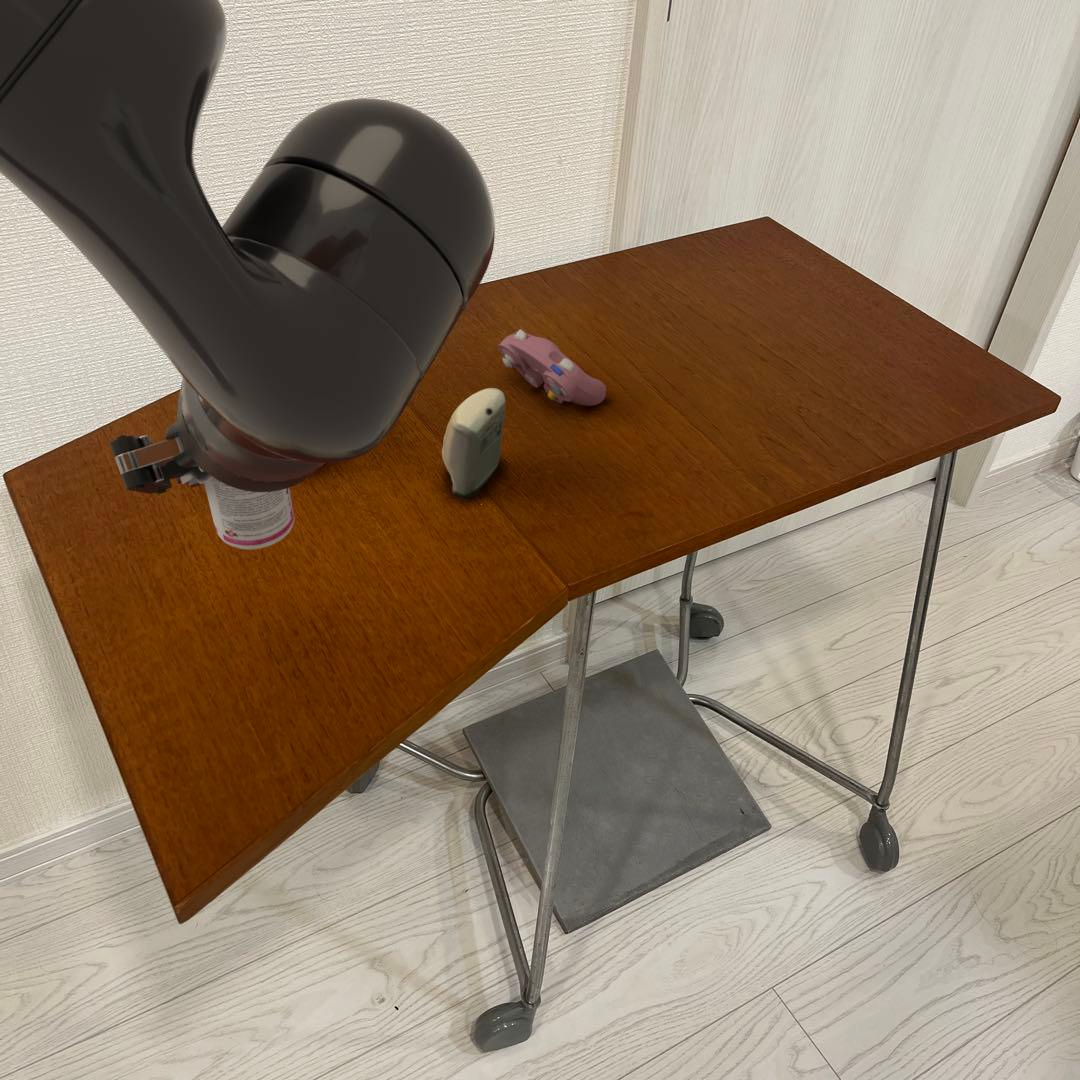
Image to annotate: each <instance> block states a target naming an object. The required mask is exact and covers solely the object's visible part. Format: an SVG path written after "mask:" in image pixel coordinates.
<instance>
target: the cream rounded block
mask: <svg viewBox="0 0 1080 1080" xmlns="http://www.w3.org/2000/svg"><path fill="white" fill-rule="evenodd" d="M506 406H507V401H506V396H505V393H504V391H502V390H501V389H500V388H499V389H498V388H496V387H488V388H483V389H481V390H479V391H476V392H475V393H473V394H471V395H470V396H469V397H467V398H466V399H465V400H463V401H462V402H461V403H460V404H459V405H458V406H457V407H456V409H454V412H453V413H452V415H451V417H450V419H449V421H448V423H447V426H446V430H445V433H444V435H443V442H442V443H443V444H442V449H441V457H442V461H443V464H444V466H445V468H446V470H447V472H448V473H449V475H450V480H451V482H452V488H451V489H452V493H453V495H456V496H457V497H458V498H462V499H465V500H467V499H471V498H473V497H475V496H478V493H479V492H481V489H482V488H483V487H484V486H485V485H486V484H487V483H488V481H489V480H490V479H491V478H492V477H493V476H494V474H495V473H496V472H497V470H498V468H499V463H500V460H501V450H502V449H501V448H502V439H503V433H504V425H505V424H504V423H505V414H506Z"/></svg>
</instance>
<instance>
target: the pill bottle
mask: <svg viewBox="0 0 1080 1080" xmlns="http://www.w3.org/2000/svg"><path fill="white" fill-rule="evenodd" d="M203 485H204V489H205V492H206V493H205V494H206V497H207V500H208V504H209V509H210V513H211V517H212V521H213V524H214V525H213V526H214V528H215V531H216V533H217V536H218V537H219V538H220V540H221V541H222V542H223V543H225V544H227V545H228V546H231V547H233V548H236V549H240V550H258V549H259V550H260V549H264V548H267V547H270V546H272V545H274V544H276V543H279V542H280V541H281V540H283V539H284V538H285V537H287V536H288V535H289V533H290V532H291V530H292V529H293V526H294V525H295V510H294V505H293V501H292V495H291V491H290V490H291V489H290V487H289V488H286V489H283V490H279V491H274V492H250V491H244V490H240V489H237V488H234V487H231V486H228V485H226V484H224V483H222V482H220V481H219V480H215V481H211V482H207V483H204V484H203Z"/></svg>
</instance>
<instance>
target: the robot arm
mask: <svg viewBox="0 0 1080 1080" xmlns="http://www.w3.org/2000/svg"><path fill="white" fill-rule="evenodd" d="M227 38H228V25H227V18H226V14H225V11H224V9H223V6H222V4H221V2H220V0H0V174H1V175H2V176H3V177H4V178H6V179H7V180H8V181H9V182H10V183H11V184H13V185H14V186H15V187H16V188H17V189H18V190H19V191H20V192H21V193H22V194H23V195H24V196H25V197H26V198H28V199H29V200H30V201H31V202H32V203H33V204H34V205H35V206H36V207H37V208H38V209H39V210H40V211H41V212H42V213H43V214H44V215H45V216H46V217H47V218H48V220H50V221H51V222H52V223H53V224H54V225H55V226H56V228H58V229H59V231H61V233H62V234H63V235H64V236H65V237H66V238H67V239H68V240H69V241H70V242H71V243H72V244H73V245H74V247H76V248H77V250H78V251H79V252H80V253H81V254H82V256H84V258H85V259H86V260H87V261H88V262H89V263H90V264H91V266H93V268H94V269H95V270H96V271H97V272H98V273H99V274H100V275H101V277H102V278H103V279H104V280H105V281H106V283H108V284H109V286H110V287H111V288H112V290H114V292H115V293H116V294H117V295H118V296H119V298H120V299H121V300H122V302H123V303H124V304H125V305H126V306H127V307H128V309H129V310H130V311H131V312H132V314H133V315H134V316H135V317H136V319H137V321H139V323H140V325H142V327H143V328H144V330H146V332H147V333H148V334H149V336H150V338H152V340H153V341H154V342H155V343H156V345H157V346H158V348H159V349H160V350H161V351H162V353H163V354H164V355H165V357H166V358H167V359H168V360H169V361H170V363H171V364H172V365H173V367H174V368H175V369H176V370H177V372H178V373H179V374H180V376H181V377H182V379H181V384H180V389H179V394H178V399H177V408H176V420H177V421H176V422H174V423H172V424H171V425H170V426H168V428H167V430H166V432H165V439H164V440H162V441H158V442H152V441H151V440H150V436H149V435H147V434H144V435H140V436H136V435H127V434H123V435H118V436H116V437H115V439H114V440H111V441H110V442H109V446H110V448H111V451H112V452H111V453H112V454H113V457H114V460H115V463H116V466H117V467H118V470H119V473H120V476H121V478H122V481H123V484H124V486H125V489H126V491H130V492H131V491H132V492H138V493H144V494H150V495H152V494H156V495H160V494H164V493H166V492H167V490H169V489H171V488H173V485H172V481H171V480H173V479H175V480H176V484H177V485H178V484H179V485H182V486H186V485H189V487H190V488H191V489H193V488H196V487H199V486H202V485H204V483H207V482H211V481H215V480H219V481H220V482H222V483H224V484H226V485H228V486H231V487H234V488H237V489H240V490H244V491H250V492H274V491H279V490H283V489H286V488H289V489H290V488H292V487H294V486H296V485H298V484H300V483H302V482H304V481H305V480H307V479H308V478H310V477H311V476H312V475H314V473H316V472H317V471H318V470H319V469H320V468H322V467H323V466H324V465H325V464H335V463H344V462H349V461H352V460H355V459H357V458H359V457H362V456H364V455H366V454H368V453H369V452H372V451H373V450H374V449H375V448H376V447H377V446H379V444H381V442H382V441H383V440H385V438H386V437H387V436H388V435H389V433H390V432H391V431H392V430H393V428H394V427H395V425H396V423H397V422H398V421H399V419H400V418H401V416H402V414H403V412H404V411H405V410H406V408H407V406H408V404H409V403H410V401H411V399H412V398H413V396H414V394H415V393H416V391H417V389H418V387H419V386H420V383H421V382H422V381H423V379H424V377H425V376H426V374H427V373H428V371H429V369H430V367H431V366H432V364H433V362H434V361H435V359H436V357H437V356H438V354H439V352H440V351H441V349H442V347H443V345H444V344H445V343H446V340H447V339H448V337H449V335H450V334H451V332H452V331H453V329H454V327H455V325H456V324H457V322H458V320H459V318H460V317H461V315H462V314H463V312H464V311H465V310H466V309H467V307H468V305H469V303H470V302H471V300H472V298H473V297H474V295H475V293H476V291H477V290H478V288H479V286H480V284H481V283H482V280H483V279H484V277H485V275H486V272H487V270H488V268H489V265H490V262H491V260H492V256H493V253H494V246H495V240H496V239H495V238H496V223H495V222H496V221H495V213H494V206H493V201H492V197H491V194H490V191H489V188H488V185H487V182H486V180H485V178H484V175H483V173H482V172H481V170H480V167H479V166H478V164H477V162H476V160H475V159H474V158H473V156H472V155H471V154H470V152H469V151H468V149H467V148H466V147H465V146H464V145H463V143H462V142H461V141H460V140H459V139H458V138H457V137H456V135H454V134H453V133H452V132H451V131H450V130H449V129H447V128H446V127H445V126H444V125H443V124H442V123H440V122H438V121H437V120H435V119H434V118H433V117H431V116H429V115H427V114H425V113H424V112H423V111H420V110H418V109H416V108H413V107H411V106H409V105H406V104H402V103H400V102H396V101H393V100H388V99H381V98H369V97H366V98H363V97H362V98H350V99H346V100H340V101H335V102H333V103H328V104H326V105H324V106H322V107H319V108H318V109H316V110H314V111H312V112H311V113H308V114H307V115H306V116H304V118H302V119H301V120H300V121H299V122H297V124H295V126H293V127H292V128H291V129H290V131H289V132H288V133H287V134H286V135H285V136H284V138H283V139H282V141H281V142H279V145H278V146H277V147H276V149H275V150H274V151H273V153H272V154H271V155H270V157H269V158H268V160H267V161H266V163H265V164H264V166H263V168H262V169H261V171H260V172H259V173H258V174H257V176H256V177H255V178H254V180H253V181H252V183H251V185H250V186H249V187H248V188H247V190H246V192H245V193H244V195H243V196H242V198H241V199H240V200H239V201H238V204H236V206H235V207H234V209H233V210H232V211H231V214H229V216H228V218H227V219H226V220H225V222H224V224H223V225H222V224H220V221H219V220H218V218H217V216H216V214H215V211H214V209H213V207H212V205H211V204H210V202H209V199H208V197H207V196H206V194H205V190H204V189H203V186H202V184H201V181H200V178H199V176H198V172H197V168H196V164H195V144H196V139H197V132H198V131H197V130H198V127H199V124H200V121H201V117H202V114H203V111H204V108H205V106H206V104H207V101H208V98H209V96H210V93H211V90H212V88H213V85H214V82H215V80H216V77H217V74H218V73H219V69H220V67H221V66H220V65H221V63H222V60H223V56H224V53H225V49H226V46H227Z"/></svg>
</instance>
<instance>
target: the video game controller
mask: <svg viewBox="0 0 1080 1080" xmlns="http://www.w3.org/2000/svg"><path fill="white" fill-rule="evenodd" d="M497 347H498V350H499V353H500V354H501V355H502V364H503V365H504V366H505V367H507V368H508V369H513V368H515V369H516V370H517V371H518V372H519V373H520V374H521V375H522V377H523V378H524V379H525V380H526V382H528V383H529V384H530V385H531V386H533V387H534V388H537V389H538V388H540V387H541V385H542V384H543V383H544V384H543V389H544V391H545V392H546V394H547V397H548V398H549V399H550V400H551V401H555V402H557V403H558V404H560V405H561V404H563V403H564V402H571V403H574V404H577V405H581V406H586V407H593V406H597V405H599V404H601V403H602V402H603V401H604V400H605V398H606V396H607V395H606V394H607V386H606V384H604V382H602V381H601V380H600V379H597V378H594V377H592V376H590V375H588V374H587V373H585V371H584V370H582V368H581V367H580V366H578V364H576V363H575V362H574V361H573V360H572V359H570V358H569V357H568V356H566V355H565V354H564V353H563V352H562V351H561V350H560V349H559V347H558V346H557V345H556V344H555V342H553V341H552V340H550V339H547V338H544V337H540V336H535V335H532V334H531V333H528V332H525V331H524V330H522V329H519V330H518V331H515V332H513V333H510V334H509V335H508V336H506V337H505V338H503V340H502V341H501V342H500V343H499V344H498V345H497Z"/></svg>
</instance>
